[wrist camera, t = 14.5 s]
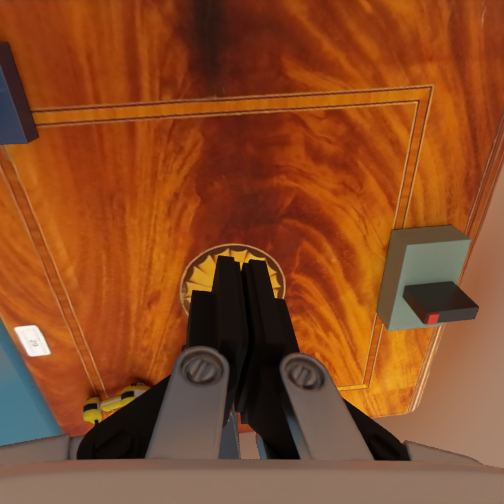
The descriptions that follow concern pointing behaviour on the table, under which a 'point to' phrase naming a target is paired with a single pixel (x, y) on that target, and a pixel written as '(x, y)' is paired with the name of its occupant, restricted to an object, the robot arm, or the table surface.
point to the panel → (418, 269)
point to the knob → (439, 302)
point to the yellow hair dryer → (111, 402)
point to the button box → (13, 103)
